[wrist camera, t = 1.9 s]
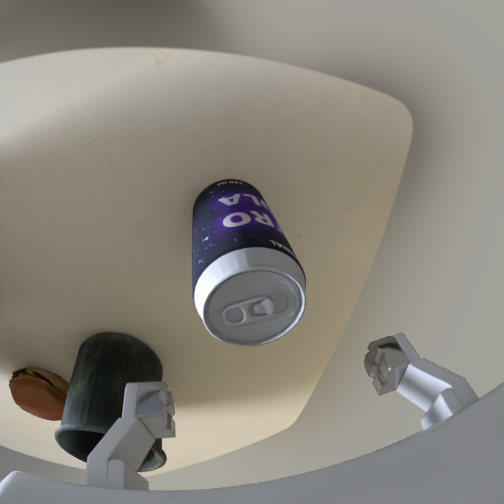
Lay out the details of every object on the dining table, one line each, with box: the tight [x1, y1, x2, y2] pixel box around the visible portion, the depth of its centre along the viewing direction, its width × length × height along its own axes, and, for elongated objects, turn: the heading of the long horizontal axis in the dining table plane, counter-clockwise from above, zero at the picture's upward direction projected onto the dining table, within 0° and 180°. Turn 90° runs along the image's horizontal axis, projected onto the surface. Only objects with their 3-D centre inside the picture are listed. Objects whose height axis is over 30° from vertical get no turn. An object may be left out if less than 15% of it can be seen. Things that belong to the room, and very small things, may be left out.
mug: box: [55, 333, 167, 472], centre depth 27 cm, size 11×15×12 cm
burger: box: [9, 368, 69, 421], centre depth 30 cm, size 10×9×5 cm
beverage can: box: [192, 179, 306, 347], centre depth 19 cm, size 6×6×12 cm
